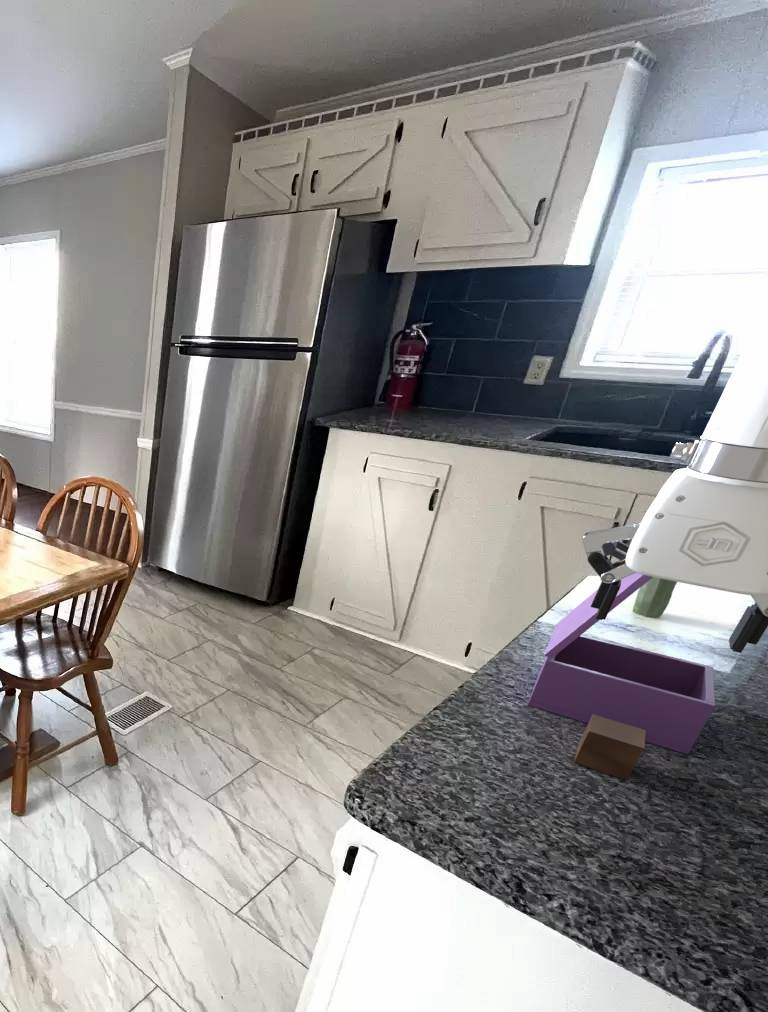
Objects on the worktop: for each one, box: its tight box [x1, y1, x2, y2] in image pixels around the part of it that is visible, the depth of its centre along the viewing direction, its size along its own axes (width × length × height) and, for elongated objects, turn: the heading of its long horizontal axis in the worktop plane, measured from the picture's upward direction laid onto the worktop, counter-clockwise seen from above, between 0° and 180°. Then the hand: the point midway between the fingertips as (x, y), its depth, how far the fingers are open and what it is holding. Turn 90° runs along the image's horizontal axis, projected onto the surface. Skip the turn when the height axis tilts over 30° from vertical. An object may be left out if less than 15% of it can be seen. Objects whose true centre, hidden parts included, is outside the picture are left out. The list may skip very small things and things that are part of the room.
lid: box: [543, 541, 653, 659], centre depth 78 cm, size 15×11×6 cm
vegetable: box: [632, 577, 678, 619], centre depth 96 cm, size 4×4×20 cm
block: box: [573, 714, 646, 781], centre depth 71 cm, size 4×4×4 cm
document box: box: [526, 634, 716, 755], centre depth 79 cm, size 14×11×7 cm
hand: (664, 630), depth 64 cm, fingers open, 9 cm apart
